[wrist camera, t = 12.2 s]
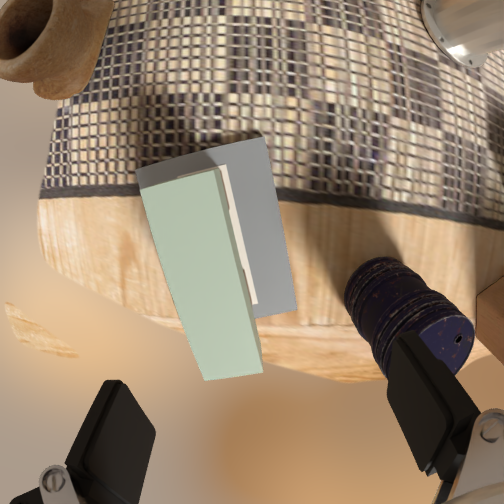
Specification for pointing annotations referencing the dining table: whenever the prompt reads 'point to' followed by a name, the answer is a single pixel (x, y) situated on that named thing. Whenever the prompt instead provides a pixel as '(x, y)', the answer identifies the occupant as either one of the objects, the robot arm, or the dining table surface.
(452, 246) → the dining table surface
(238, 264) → the lintel
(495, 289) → the wooden block
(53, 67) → the brown boot
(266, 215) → the board
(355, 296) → the dark blue cylinder
